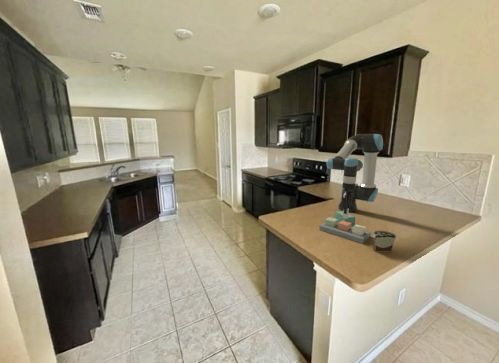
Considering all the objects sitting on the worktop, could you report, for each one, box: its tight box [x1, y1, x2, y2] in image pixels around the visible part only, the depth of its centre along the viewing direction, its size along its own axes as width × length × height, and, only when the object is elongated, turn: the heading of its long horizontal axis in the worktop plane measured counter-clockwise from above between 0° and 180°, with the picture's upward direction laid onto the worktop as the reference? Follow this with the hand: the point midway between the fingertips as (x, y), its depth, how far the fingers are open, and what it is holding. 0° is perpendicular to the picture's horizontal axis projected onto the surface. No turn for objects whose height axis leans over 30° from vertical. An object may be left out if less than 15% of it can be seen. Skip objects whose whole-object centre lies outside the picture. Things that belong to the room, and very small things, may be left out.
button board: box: [318, 222, 372, 245], centre depth 145 cm, size 14×28×3 cm, turn 45°
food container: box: [372, 230, 397, 253], centre depth 125 cm, size 12×6×10 cm, turn 92°
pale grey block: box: [352, 223, 367, 236], centre depth 138 cm, size 6×6×4 cm
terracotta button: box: [338, 221, 351, 231], centre depth 145 cm, size 6×6×4 cm
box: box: [334, 210, 356, 227], centre depth 161 cm, size 7×14×8 cm, turn 14°
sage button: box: [324, 216, 338, 227], centre depth 151 cm, size 6×6×4 cm
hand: (345, 217), depth 143 cm, fingers closed
